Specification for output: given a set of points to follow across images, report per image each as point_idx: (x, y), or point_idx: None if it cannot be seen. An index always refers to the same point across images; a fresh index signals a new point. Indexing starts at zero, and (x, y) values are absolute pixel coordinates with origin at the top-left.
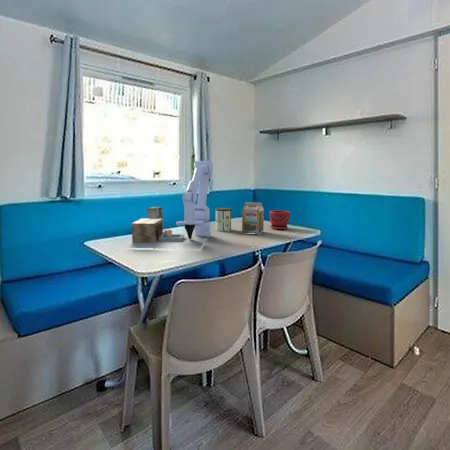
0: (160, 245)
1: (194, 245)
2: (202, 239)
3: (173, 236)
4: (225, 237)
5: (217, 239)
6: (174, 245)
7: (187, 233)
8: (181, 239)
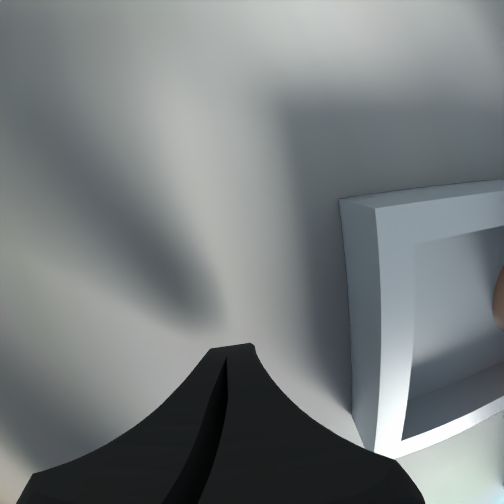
0: (500, 36)
1: (79, 98)
2: None
3: (487, 381)
4: None
5: (25, 452)
6: (371, 26)
7: (274, 386)
8: (360, 234)
